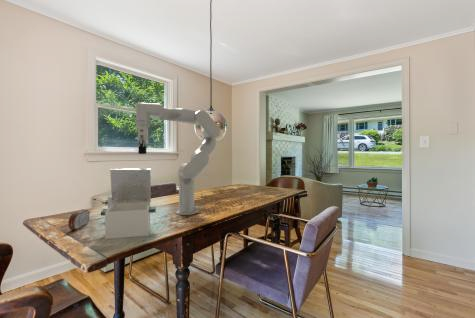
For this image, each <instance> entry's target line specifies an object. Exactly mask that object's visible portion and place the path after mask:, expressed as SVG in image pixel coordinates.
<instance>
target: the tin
mask: <svg viewBox="0 0 475 318" xmlns="http://www.w3.org/2000/svg"><path fill="white" fill-rule="evenodd" d="M89 220H90V211H89V210H88V209H80V210H78V211H75V212H72V214H71V215H70V216H69V217H68V225H67V227H68V229H69V230H71V231H72V230H76V231H77V230H79V229H81V228H82V227H85V226H86V225H87V224H88V223H89Z"/></svg>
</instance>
